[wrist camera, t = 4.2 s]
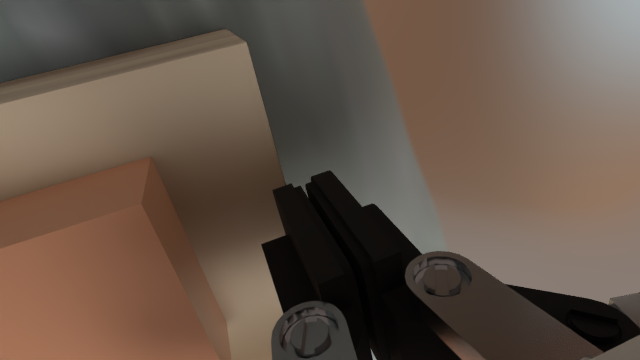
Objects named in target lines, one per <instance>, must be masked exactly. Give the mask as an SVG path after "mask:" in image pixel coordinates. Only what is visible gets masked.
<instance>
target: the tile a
mask: <svg viewBox="0 0 640 360" xmlns="http://www.w3.org/2000/svg"><path fill="white" fill-rule="evenodd" d="M0 360H232V359H231V352H230V344H229V337H228V330H227V323H226V321H225V319H224V316H223V314H222V312H221V310H220V308H219V305H218V303H217V301H216V299H215V297H214V294H213V292H212V290H211V288H210V286H209V283H208V281H207V279H206V277H205V275H204V272H203V270H202V268H201V266H200V264H199V261H198V259H197V257H196V255H195V253H194V250H193V248H192V246H191V244H190V242H189V239H188V237H187V235H186V233H185V231H184V228H183V226H182V224H181V222H180V220H179V217H178V215H177V213H176V211H175V209H174V206H173V204H172V202H171V200H170V198H169V195H168V193H167V191H166V189H165V187H164V184H163V182H162V180H161V178H160V176H159V173H158V171H157V169H156V167H155V165H154V162H153V160H152V158H151V157H148V158H145V159H141V160H138V161H135V162H131V163H128V164H124V165H121V166H118V167H114V168H111V169H107V170H104V171H101V172H97V173H94V174H91V175H87V176H84V177H80V178H77V179H74V180H70V181H67V182H64V183H60V184H57V185H53V186H50V187H47V188H43V189H40V190H36V191H33V192H30V193H26V194H23V195H20V196H16V197H13V198H9V199H6V200H3V201H0Z"/></svg>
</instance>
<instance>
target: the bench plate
mask: <svg viewBox="0 0 640 360" xmlns="http://www.w3.org/2000/svg"><path fill="white" fill-rule="evenodd" d="M148 157H151V158H152V160H153V162H154V165H155V167H156V169H157V171H158V173H159V176H160V178H161V180H162V182H163V184H164V187H165V189H166V191H167V193H168V195H169V198H170V200H171V202H172V204H173V206H174V209H175V211H176V213H177V215H178V217H179V220H180V222H181V224H182V226H183V228H184V231H185V233H186V235H187V237H188V239H189V242H190V244H191V246H192V248H193V250H194V253H195V255H196V257H197V259H198V261H199V264H200V266H201V268H202V270H203V272H204V275H205V277H206V279H207V281H208V283H209V286H210V288H211V290H212V292H213V294H214V297H215V299H216V301H217V303H218V305H219V308H220V310H221V312H222V314H223V316H224V319H225V321H226V323H227V330H228V337H229V344H230V352H231V359H232V360H272V350H271V337H272V331H273V328H274V326H275V324H276V322H277V321H278V320H279V318H280V317H281V316H282V315H283V311H282V308H281V305H280V302H279V299H278V296H277V293H276V289H275V286H274V283H273V280H272V277H271V274H270V271H269V268H268V264H267V261H266V258H265V255H264V252H263V249H262V246H261V244H263V243H265V242H268V241H271V240H274V239H276V238H279V237H282V236H285V235H286V234H285V231H284V228H283V225H282V221H281V218H280V215H279V212H278V208H277V205H276V202H275V199H274V195H273V191H272V190H273V189H276V188H279V187H282V186H285V185H286V184H285V180H284V177H283V173H282V170H281V166H280V162H279V159H278V155H277V151H276V148H275V144H274V140H273V137H272V133H271V129H270V126H269V122H268V119H267V115H266V111H265V108H264V104H263V100H262V97H261V93H260V89H259V86H258V82H257V79H256V75H255V71H254V68H253V64H252V60H251V57H250V53H249V49H248V46H247V42H245V41H244V40H242V39H241V38H239V37H238V36H236V35H235V34H233V33H232V32H230V31H229V30H227V29H222V30H218V31H214V32H210V33H206V34H202V35H198V36H193V37H189V38H185V39H181V40H177V41H173V42H169V43H164V44H160V45H156V46H152V47H148V48H144V49H140V50H136V51H131V52H127V53H123V54H119V55H115V56H111V57H107V58H102V59H98V60H94V61H90V62H86V63H82V64H78V65H73V66H69V67H65V68H61V69H57V70H53V71H49V72H45V73H40V74H36V75H32V76H28V77H24V78H20V79H16V80H11V81H7V82H3V83H0V201H3V200H6V199H9V198H13V197H16V196H20V195H23V194H26V193H30V192H33V191H36V190H40V189H43V188H47V187H50V186H53V185H57V184H60V183H64V182H67V181H70V180H74V179H77V178H80V177H84V176H87V175H91V174H94V173H97V172H101V171H104V170H107V169H111V168H114V167H118V166H121V165H124V164H128V163H131V162H135V161H138V160H141V159H145V158H148Z"/></svg>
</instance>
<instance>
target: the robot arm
mask: <svg viewBox="0 0 640 360" xmlns="http://www.w3.org/2000/svg"><path fill="white" fill-rule="evenodd" d="M306 190H307V194H308V197H307V195H306V194H305V192H304V191H303V189H302V187H301V186H298V187H295V188H294V187H293V185H292V184H288V185H285V186H282V187H279V188H276V189H273V190H272V191H273V195H274V199H275V202H276V205H277V208H278V212H279V215H280V218H281V221H282V225H283V228H284V231H285V234H286V235H285V236H282V237H279V238H276V239H274V240H271V241H268V242H265V243H263V244H261V246H262V249H263V252H264V255H265V258H266V261H267V264H268V268H269V271H270V274H271V277H272V280H273V283H274V286H275V289H276V293H277V296H278V299H279V302H280V305H281V308H282V311H283V315H282V316H281V317H280V318H279V320H278V321H277V322H276V324H275V326H274V328H273V331H272V337H271V350H272V360H373V359H372V354H371V350H372V352H373V354H374V355H375V357H376V359H377V360H640V292H639V293H635V294H629V295H624V296H619V297H615V298H610V301H609V304H608V305H607V304H605V303H602V302H599V301H595V300H592V299H587V298H582V297H576V296H570V295H564V294H558V293H553V292H547V291H542V290H536V289H530V288H524V287H518V286H513V285H507V284H504V283H502V282H501V281H499V280H498V279H496V278H495V277H494V276H492V275H491V274H489V273H488V272H486V271H485V270H483V269H482V268H481V267H479V266H477V265H476V264H475V263H473V262H472V261H470V260H469V259H467V258H465V257H463V256H461V255H459V254H456V253H452V252H445V251H435V252H428V253H425V254H423V255H422V253H421V252H420V251H419V250H418V249H417V248H416V247H415V246H414V245H413V244H412V243H411V242H410V241H409V240H408V239H407V238H406V236H405V235H404V234H403V233H402V232H401V231H400V230H399V229H398V228H397V227H396V226H395V225H394V224H393V223H392V222H391V221H390V219H389V218H388V217H387V216H386V215H385V214H384V213H383V212H382V211H381V210H380V209H379V208H378V207H377V206H376V205H375V204H369V205H367V206H364V207H362V206H361V205H360V204H359V203H358V202H357V200H356V199H355V198H354V197H353V196H352V195H351V194H350V192H349V191H348V190H347V189H346V188H345V187H344V185H343V184H342V183H341V182H340V181H339V180H338V179H337V177H336V176H335V175H334V174H333V173H332V172H331V171H326V172H324V173H321V174H318V175H315V176H312V177H311V182H310V183H307V184H306ZM370 348H371V349H370Z"/></svg>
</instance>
